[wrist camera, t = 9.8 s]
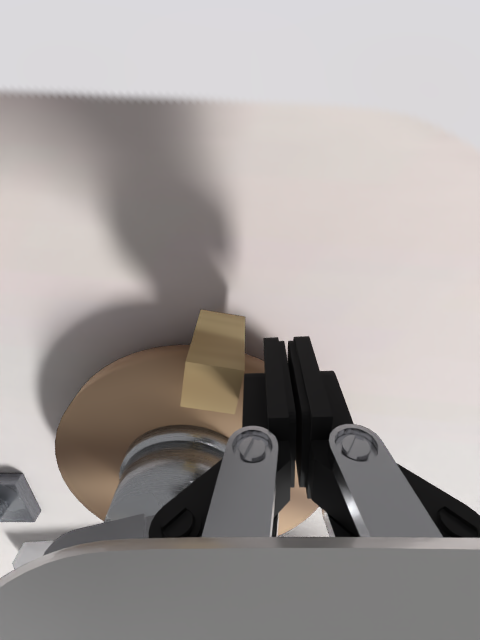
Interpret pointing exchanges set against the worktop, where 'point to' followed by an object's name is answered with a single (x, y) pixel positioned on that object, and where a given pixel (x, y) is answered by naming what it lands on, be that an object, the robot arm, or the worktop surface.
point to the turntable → (160, 409)
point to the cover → (163, 467)
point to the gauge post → (17, 499)
